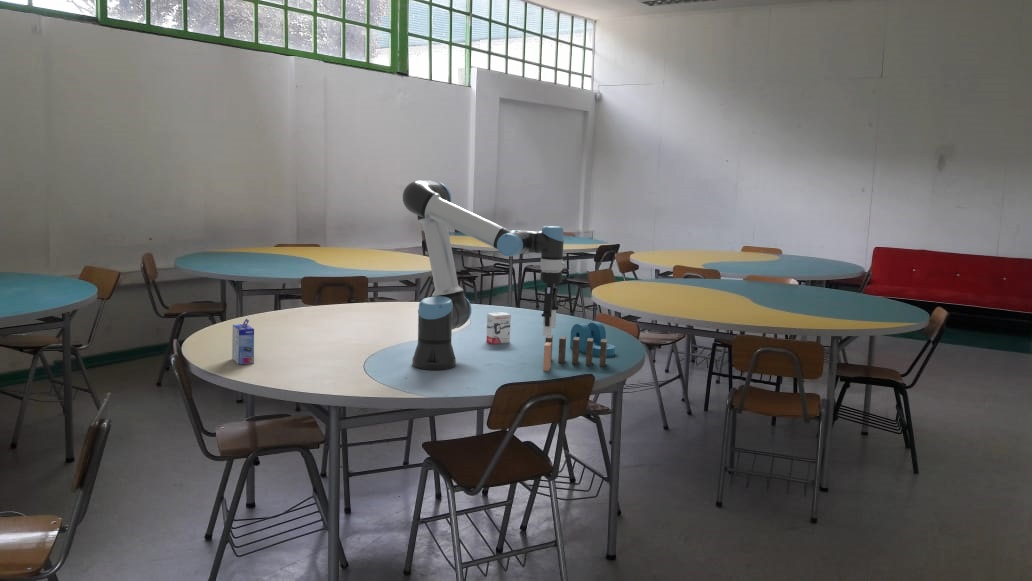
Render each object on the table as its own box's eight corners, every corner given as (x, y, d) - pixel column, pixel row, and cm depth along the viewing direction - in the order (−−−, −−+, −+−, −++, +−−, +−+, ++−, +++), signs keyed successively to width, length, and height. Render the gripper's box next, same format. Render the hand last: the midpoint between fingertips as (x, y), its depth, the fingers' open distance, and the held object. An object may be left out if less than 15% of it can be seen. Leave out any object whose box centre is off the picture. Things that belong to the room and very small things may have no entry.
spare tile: (550, 367, 267) (551, 342, 266) (548, 371, 262) (550, 345, 261) (544, 367, 267) (546, 342, 266) (543, 370, 262) (544, 345, 261)
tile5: (592, 362, 277) (593, 338, 276) (591, 365, 272) (592, 341, 271) (586, 361, 277) (587, 337, 276) (585, 365, 272) (586, 340, 271)
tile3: (564, 360, 279) (566, 336, 277) (563, 363, 274) (564, 339, 272) (559, 359, 279) (560, 335, 278) (558, 362, 274) (559, 338, 273)
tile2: (551, 359, 279) (552, 335, 278) (549, 362, 274) (551, 338, 273) (546, 358, 280) (547, 335, 278) (544, 361, 275) (545, 337, 273)
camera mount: (570, 348, 300) (571, 322, 298) (590, 345, 305) (591, 320, 304) (599, 357, 285) (601, 330, 283) (620, 355, 291) (621, 328, 289)
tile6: (605, 363, 276) (607, 339, 275) (605, 366, 271) (606, 342, 270) (600, 362, 277) (601, 338, 275) (599, 366, 272) (600, 341, 270)
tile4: (578, 361, 278) (579, 337, 276) (577, 364, 273) (578, 340, 272) (573, 360, 278) (574, 336, 277) (571, 364, 273) (573, 339, 272)
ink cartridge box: (255, 363, 256) (254, 321, 254) (238, 365, 253) (237, 323, 251) (248, 357, 264) (247, 316, 262) (231, 358, 261) (231, 317, 259)
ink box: (492, 344, 300) (493, 315, 298) (485, 341, 304) (486, 313, 302) (510, 342, 304) (511, 313, 303) (503, 340, 308) (504, 311, 307)
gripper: (558, 276, 247) (556, 339, 250) (565, 267, 271) (563, 325, 274) (535, 274, 248) (533, 338, 251) (545, 266, 272) (543, 324, 275)
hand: (549, 331), depth 262 cm, fingers open, 13 cm apart
